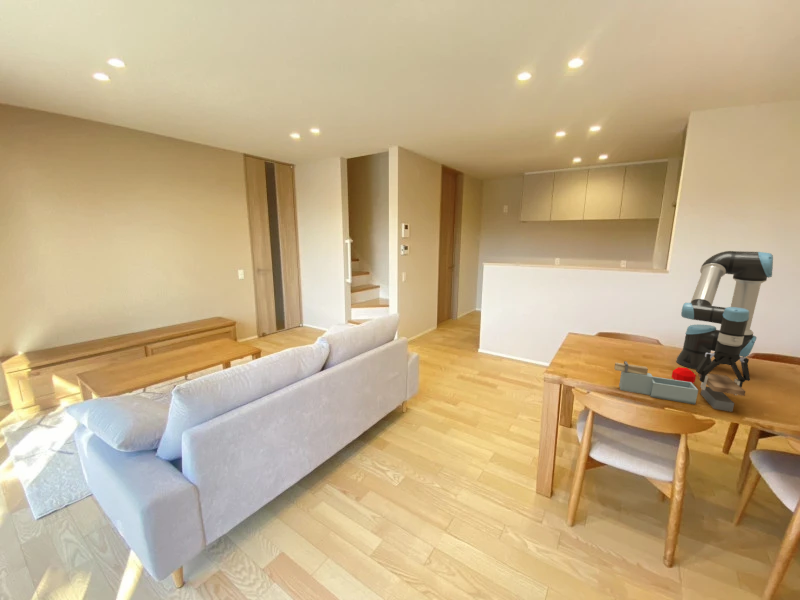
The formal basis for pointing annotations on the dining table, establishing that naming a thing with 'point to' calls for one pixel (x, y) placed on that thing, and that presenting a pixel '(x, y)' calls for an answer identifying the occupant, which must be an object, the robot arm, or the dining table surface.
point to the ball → (683, 375)
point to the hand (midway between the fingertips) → (718, 391)
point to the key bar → (631, 368)
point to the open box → (673, 390)
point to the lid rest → (717, 399)
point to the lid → (723, 384)
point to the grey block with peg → (635, 381)
